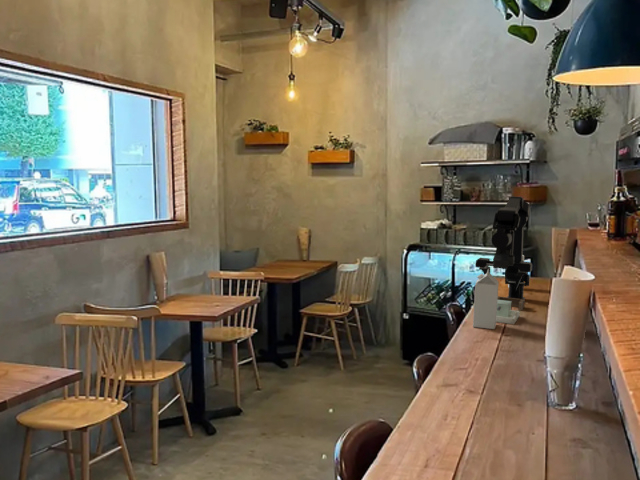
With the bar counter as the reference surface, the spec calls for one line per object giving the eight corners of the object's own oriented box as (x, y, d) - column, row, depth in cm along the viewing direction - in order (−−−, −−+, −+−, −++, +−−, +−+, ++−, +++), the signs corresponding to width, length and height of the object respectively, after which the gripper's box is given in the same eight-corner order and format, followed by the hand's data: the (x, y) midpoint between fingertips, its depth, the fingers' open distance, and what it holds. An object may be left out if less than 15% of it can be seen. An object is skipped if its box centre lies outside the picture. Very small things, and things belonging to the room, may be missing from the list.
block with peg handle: (493, 312, 222) (494, 299, 222) (510, 314, 220) (511, 301, 219) (489, 317, 215) (489, 303, 214) (506, 320, 212) (507, 306, 211)
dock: (496, 303, 239) (497, 296, 239) (524, 307, 234) (524, 299, 234) (493, 307, 233) (493, 299, 233) (521, 310, 228) (522, 303, 228)
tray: (486, 312, 225) (487, 307, 224) (519, 316, 220) (519, 311, 219) (479, 319, 214) (480, 314, 214) (513, 324, 209) (514, 318, 209)
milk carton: (495, 324, 208) (499, 269, 206) (494, 329, 202) (498, 273, 199) (474, 322, 211) (477, 268, 208) (472, 327, 204) (476, 271, 201)
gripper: (473, 245, 211) (470, 289, 213) (529, 250, 203) (526, 296, 205) (480, 242, 221) (477, 284, 223) (533, 246, 213) (530, 290, 215)
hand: (502, 288), depth 216 cm, fingers open, 9 cm apart
